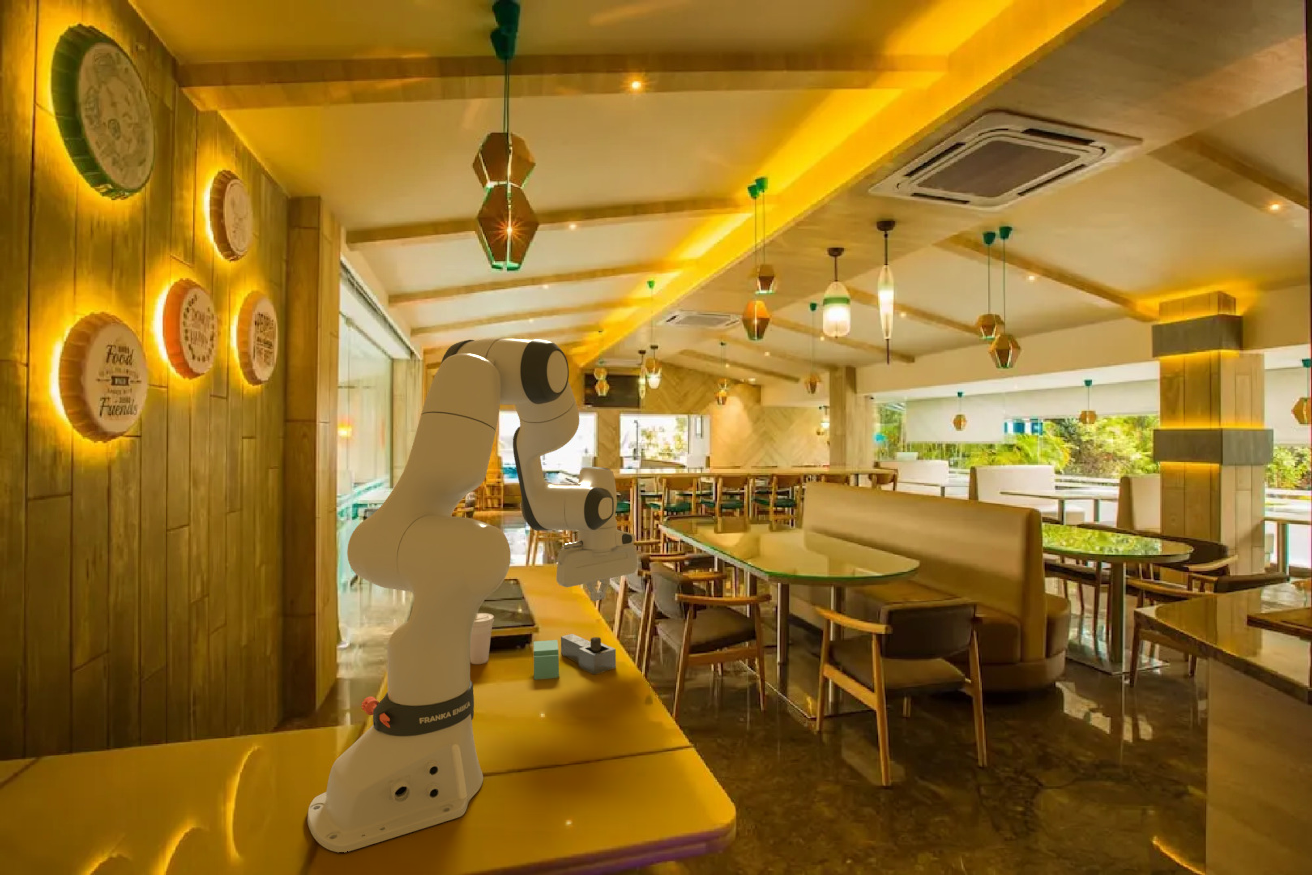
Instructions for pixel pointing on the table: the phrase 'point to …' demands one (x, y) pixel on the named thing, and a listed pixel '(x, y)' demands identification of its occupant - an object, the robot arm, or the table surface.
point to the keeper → (546, 659)
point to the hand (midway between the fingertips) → (598, 599)
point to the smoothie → (481, 638)
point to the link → (588, 654)
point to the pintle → (595, 644)
